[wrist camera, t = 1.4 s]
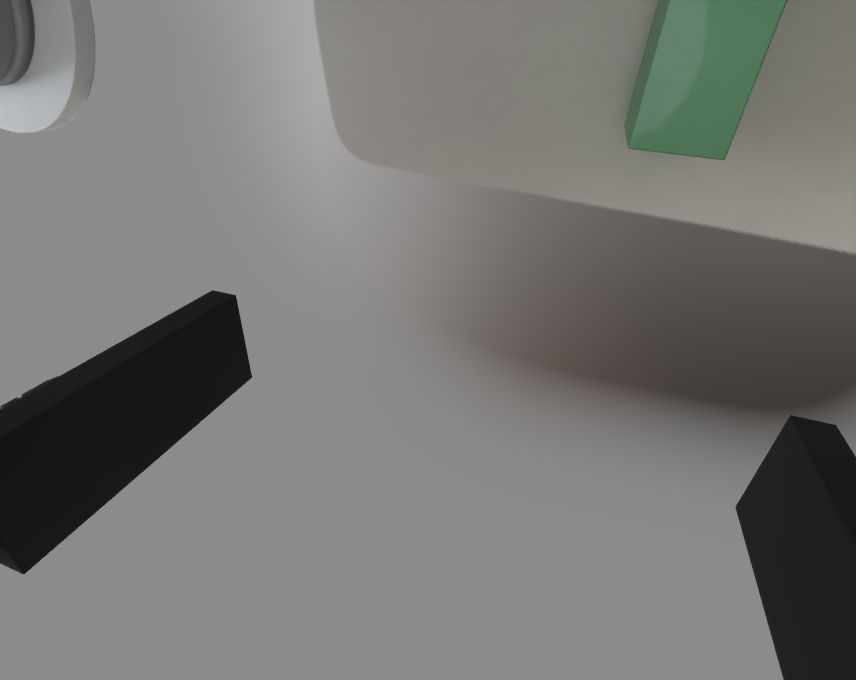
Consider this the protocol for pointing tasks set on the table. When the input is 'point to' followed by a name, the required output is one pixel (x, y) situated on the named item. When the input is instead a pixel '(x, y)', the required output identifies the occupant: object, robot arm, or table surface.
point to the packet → (699, 74)
